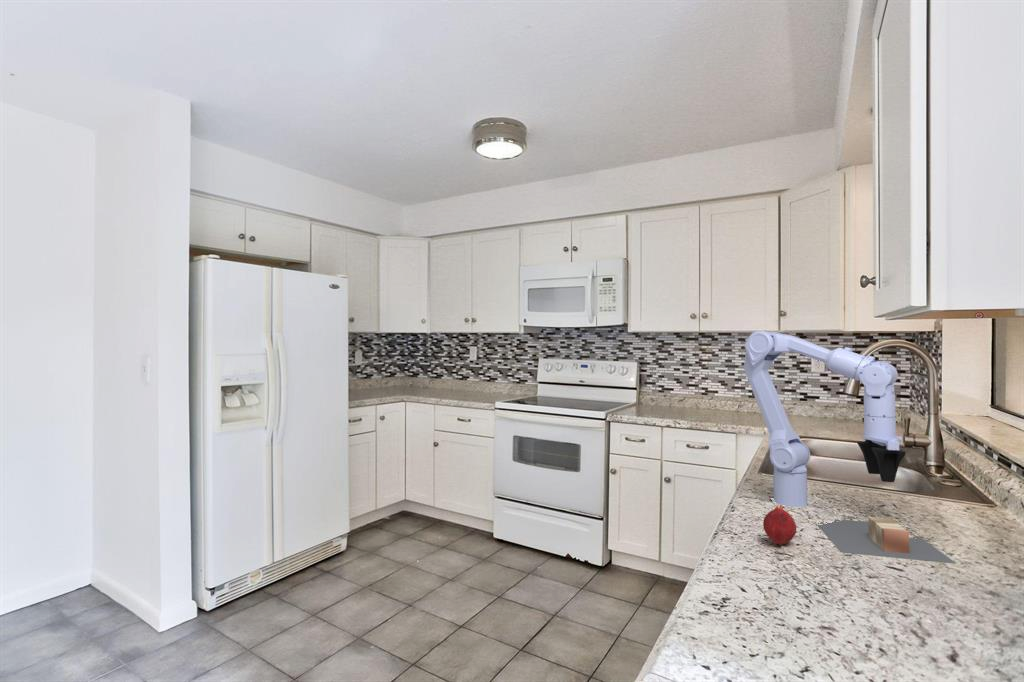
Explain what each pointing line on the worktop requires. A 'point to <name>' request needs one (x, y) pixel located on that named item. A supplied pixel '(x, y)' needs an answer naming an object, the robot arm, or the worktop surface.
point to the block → (888, 535)
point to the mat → (857, 541)
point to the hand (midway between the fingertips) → (880, 477)
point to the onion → (779, 525)
